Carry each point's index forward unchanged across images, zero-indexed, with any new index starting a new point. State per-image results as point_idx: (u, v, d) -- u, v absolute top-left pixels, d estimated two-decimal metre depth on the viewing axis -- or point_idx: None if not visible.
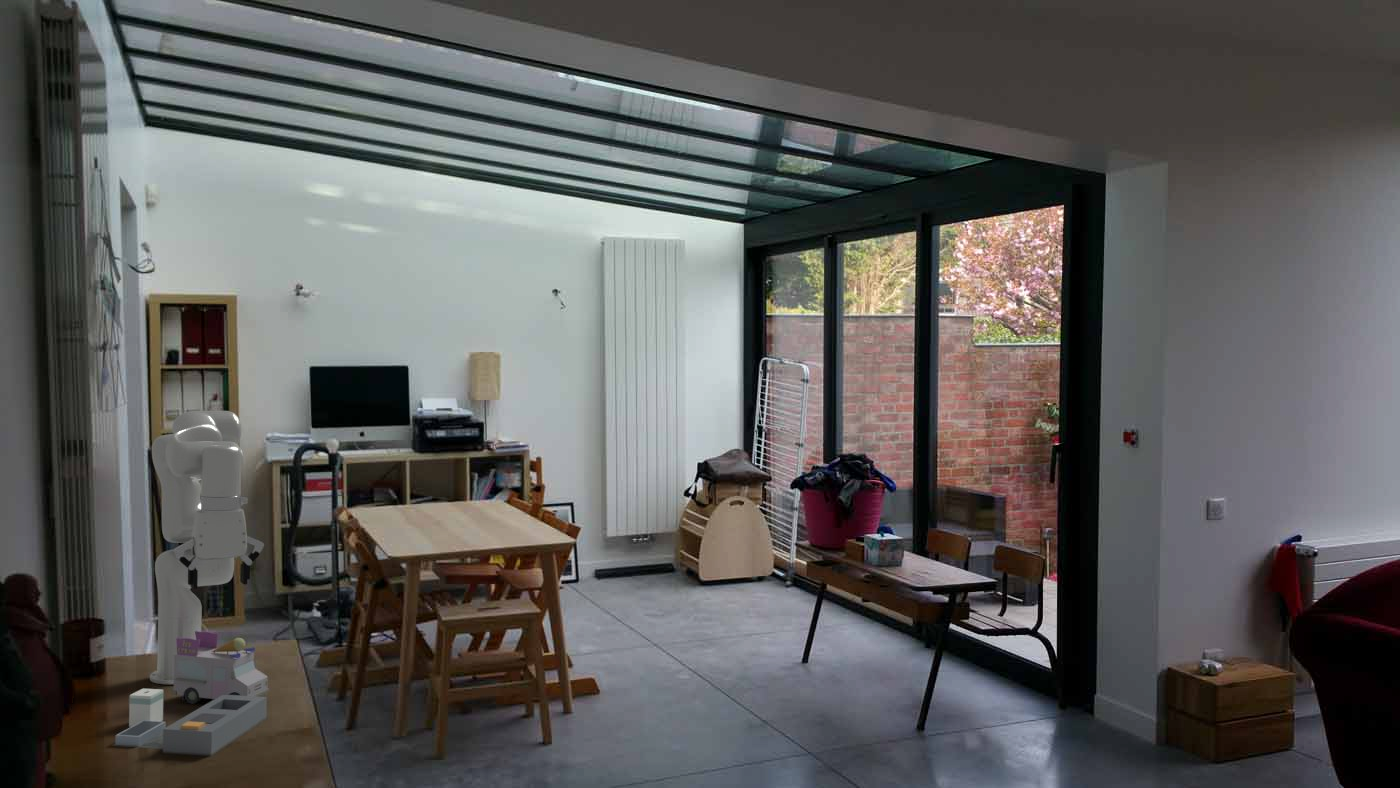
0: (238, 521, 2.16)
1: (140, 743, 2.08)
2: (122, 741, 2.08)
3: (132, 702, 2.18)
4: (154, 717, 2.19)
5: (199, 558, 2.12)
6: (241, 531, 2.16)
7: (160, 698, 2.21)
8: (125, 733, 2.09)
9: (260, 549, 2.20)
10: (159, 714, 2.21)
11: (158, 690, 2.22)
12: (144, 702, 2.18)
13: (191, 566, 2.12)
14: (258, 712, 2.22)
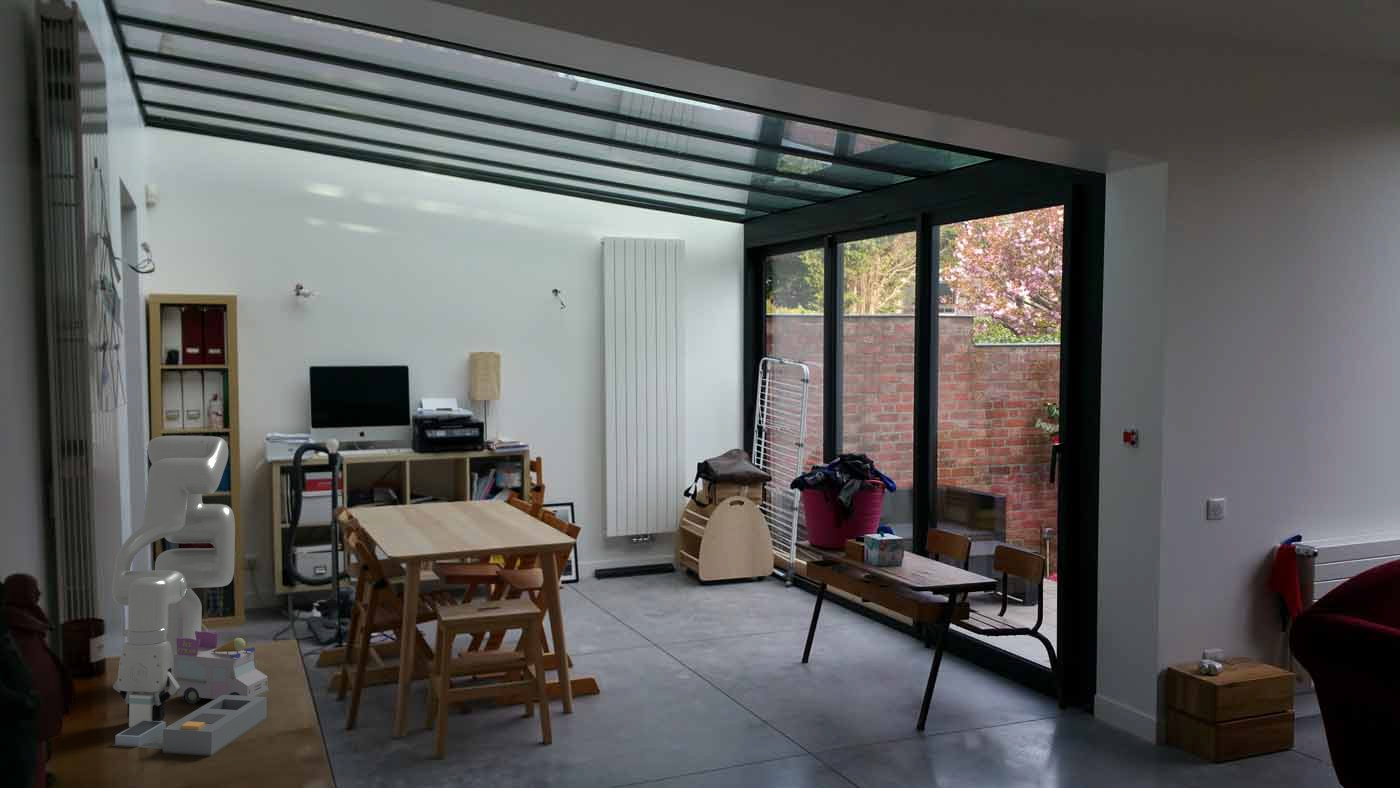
0: None
1: (140, 743, 2.08)
2: (122, 741, 2.08)
3: (132, 702, 2.18)
4: None
5: None
6: None
7: None
8: (125, 733, 2.09)
9: None
10: None
11: None
12: (144, 702, 2.18)
13: None
14: (258, 712, 2.22)
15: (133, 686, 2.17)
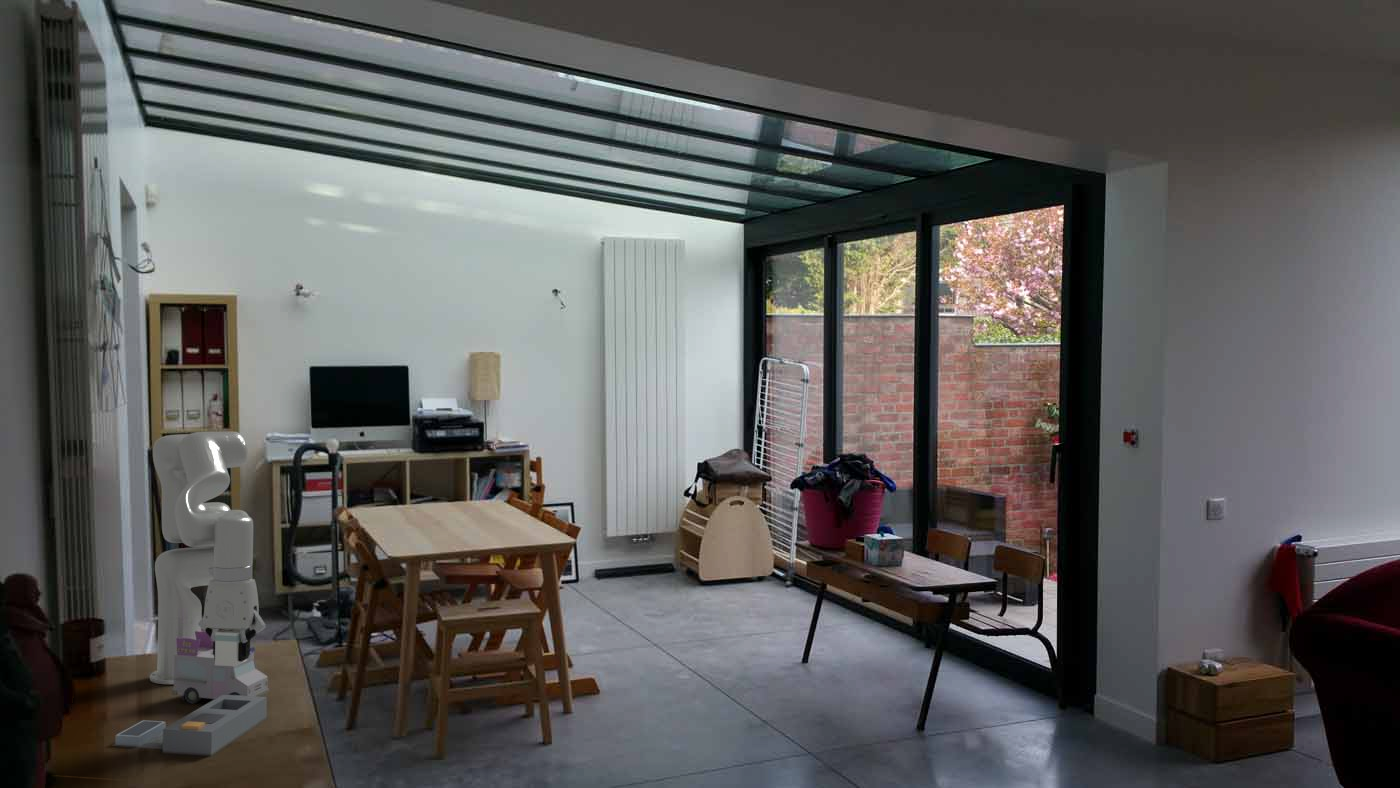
0: None
1: (140, 743, 2.08)
2: (122, 741, 2.08)
3: (218, 639, 2.17)
4: None
5: None
6: None
7: None
8: (125, 733, 2.09)
9: None
10: None
11: None
12: (230, 639, 2.17)
13: None
14: (258, 712, 2.22)
15: (219, 623, 2.17)
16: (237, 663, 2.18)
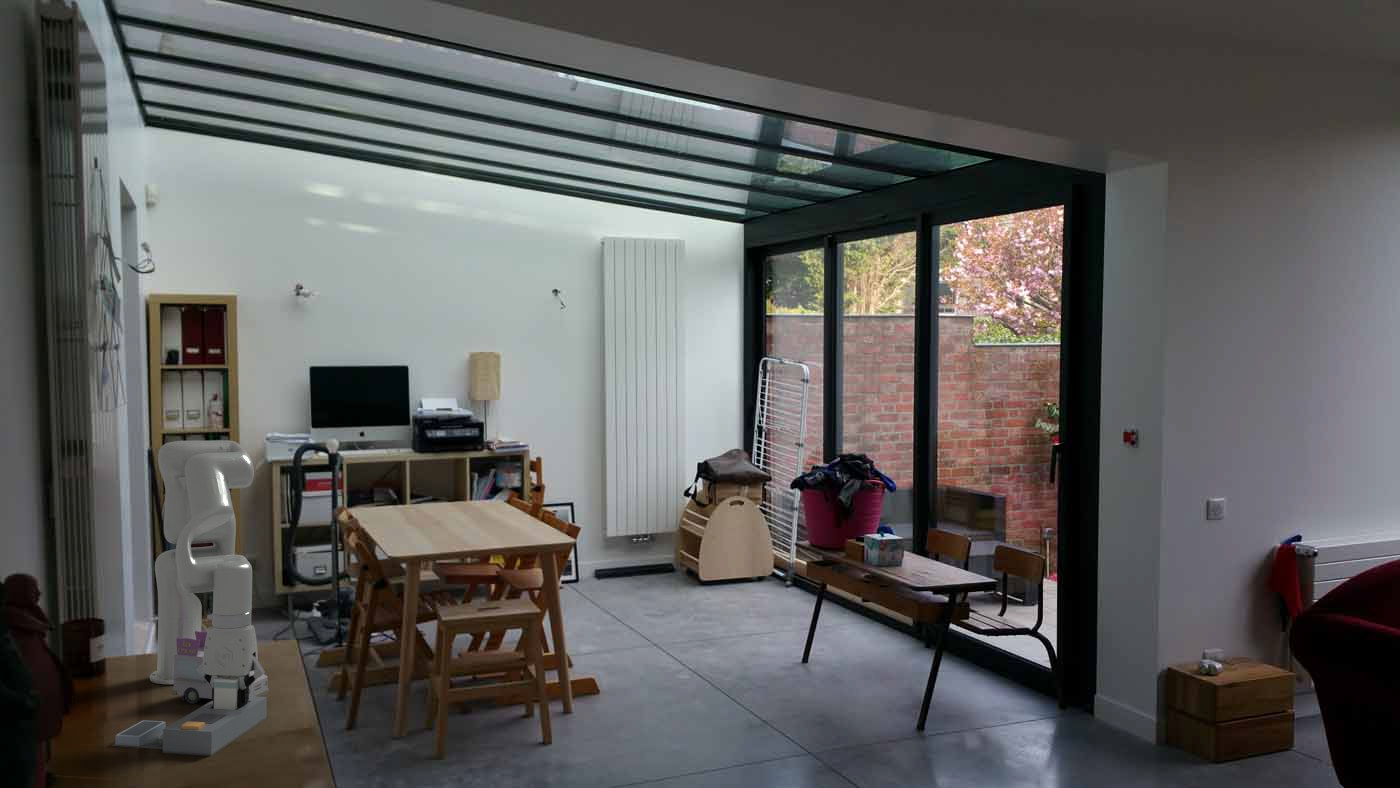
0: None
1: (140, 743, 2.08)
2: (122, 741, 2.08)
3: (217, 686, 2.18)
4: None
5: None
6: None
7: None
8: (125, 733, 2.09)
9: None
10: None
11: None
12: (229, 686, 2.17)
13: None
14: (258, 712, 2.22)
15: (218, 670, 2.17)
16: None
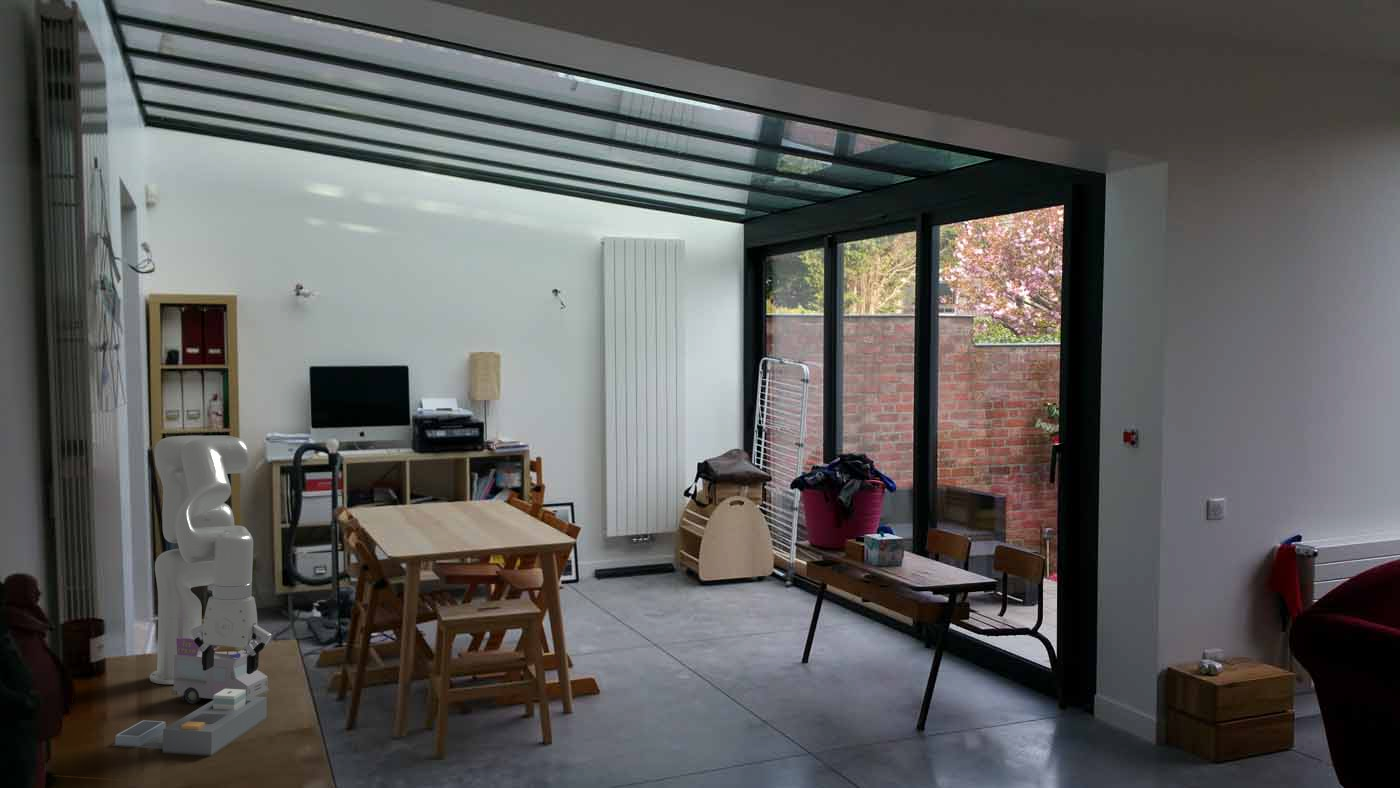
0: None
1: (140, 743, 2.08)
2: (122, 741, 2.08)
3: (216, 702, 2.18)
4: None
5: None
6: None
7: (243, 698, 2.21)
8: (125, 733, 2.09)
9: None
10: None
11: (240, 690, 2.21)
12: (228, 702, 2.17)
13: None
14: (258, 712, 2.22)
15: (218, 640, 2.17)
16: None
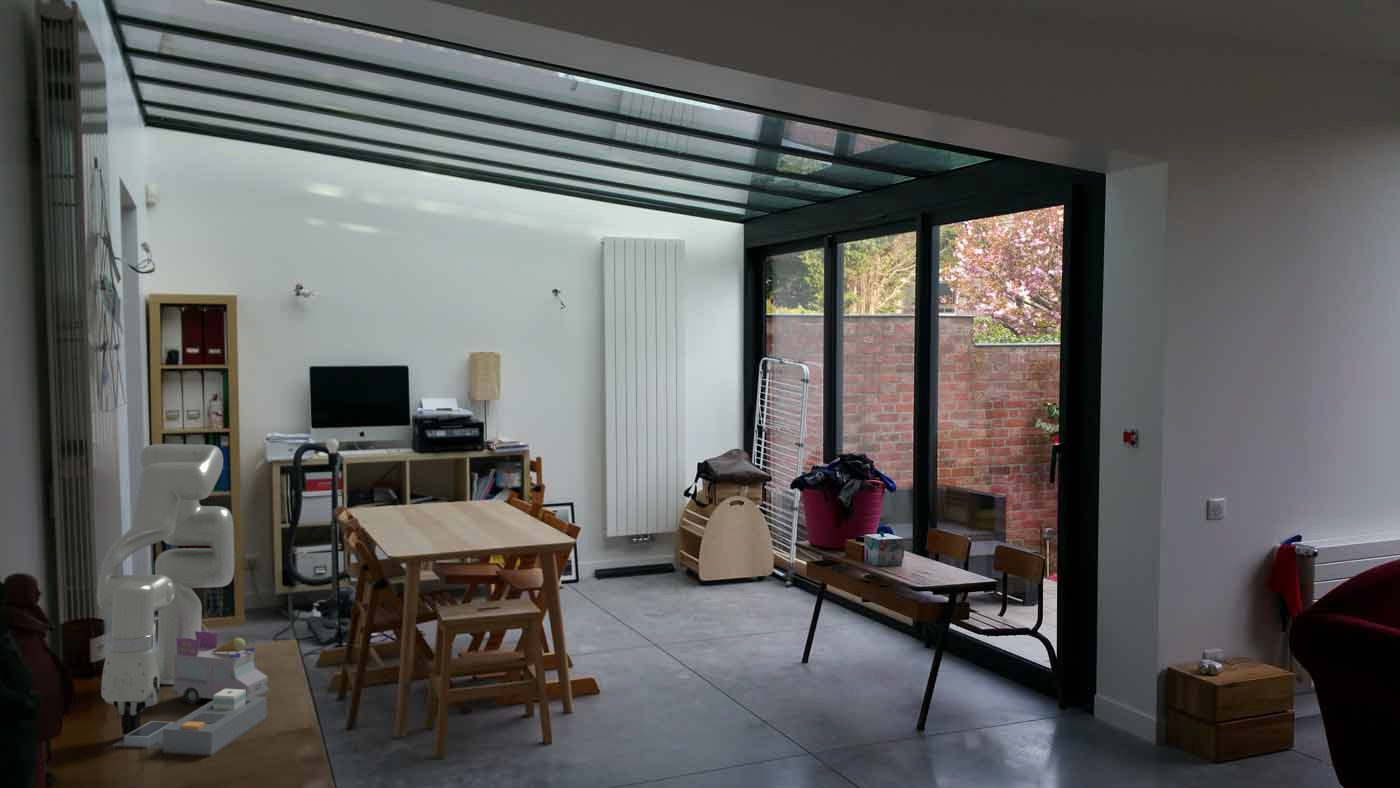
0: None
1: (149, 744, 2.08)
2: (131, 741, 2.07)
3: (216, 702, 2.18)
4: None
5: None
6: None
7: (243, 698, 2.21)
8: (134, 734, 2.09)
9: None
10: None
11: (240, 690, 2.21)
12: (228, 702, 2.17)
13: None
14: (258, 712, 2.22)
15: (117, 695, 2.09)
16: None
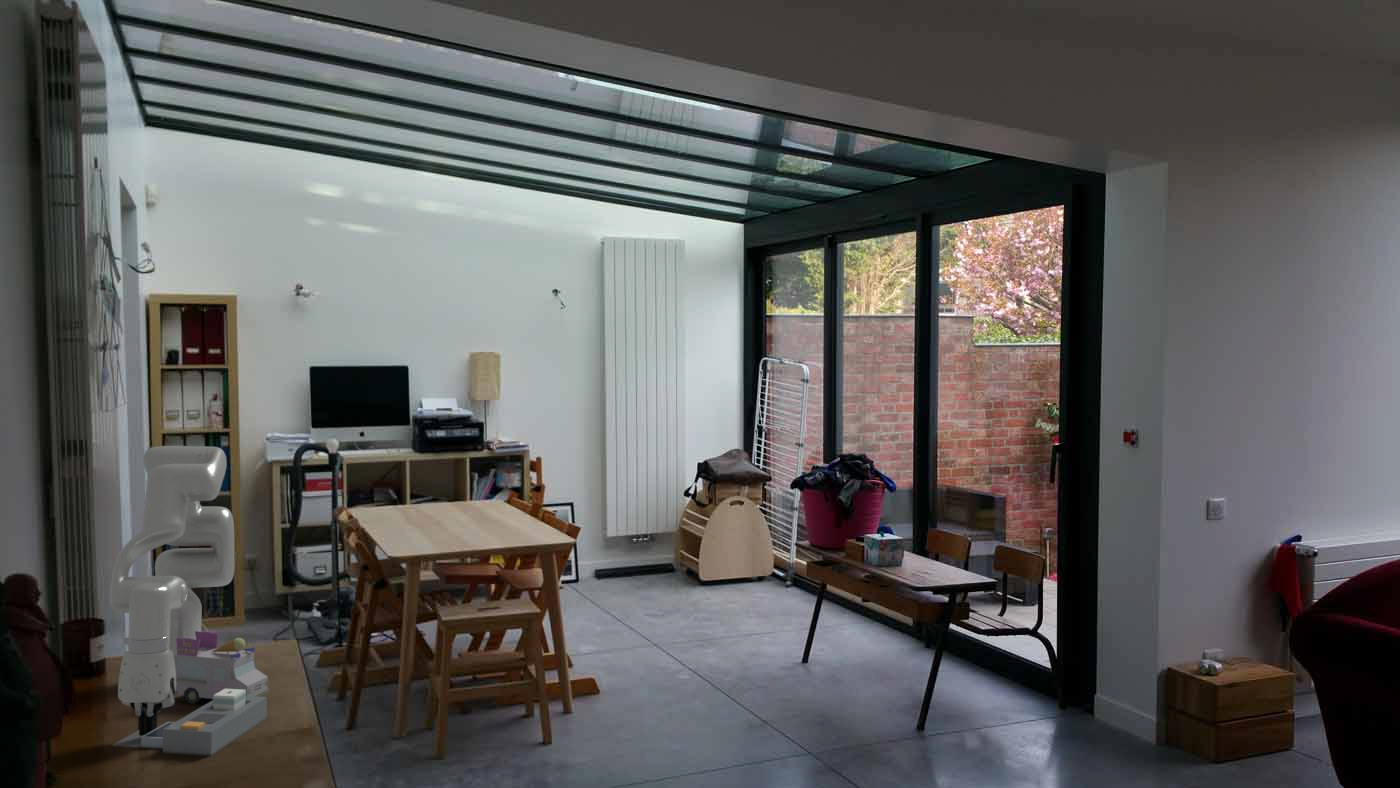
0: None
1: None
2: (148, 742, 2.07)
3: (216, 702, 2.18)
4: None
5: None
6: None
7: (243, 698, 2.21)
8: (151, 735, 2.08)
9: None
10: None
11: (240, 690, 2.21)
12: (228, 702, 2.17)
13: None
14: (258, 712, 2.22)
15: (134, 696, 2.09)
16: None
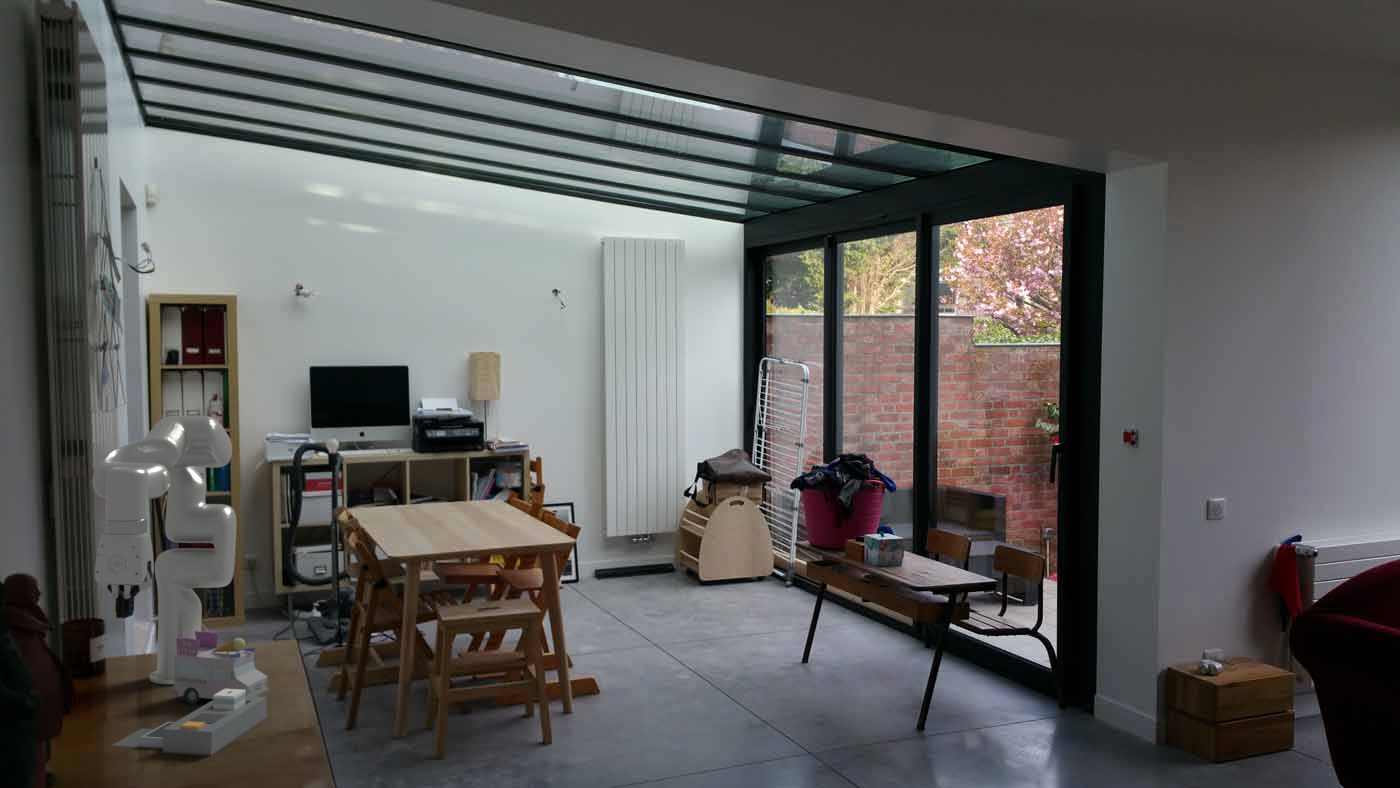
0: None
1: None
2: (148, 742, 2.07)
3: (216, 702, 2.18)
4: None
5: None
6: None
7: (243, 698, 2.21)
8: (151, 735, 2.08)
9: None
10: None
11: (240, 690, 2.21)
12: (228, 702, 2.17)
13: None
14: (258, 712, 2.22)
15: (111, 578, 2.09)
16: None
